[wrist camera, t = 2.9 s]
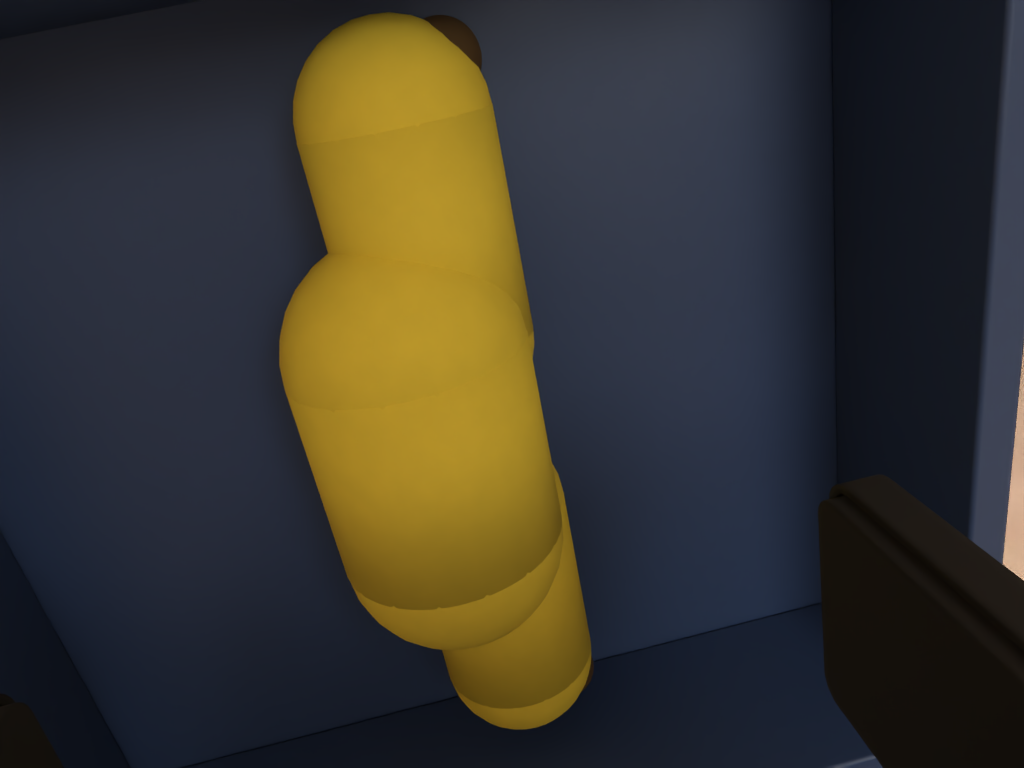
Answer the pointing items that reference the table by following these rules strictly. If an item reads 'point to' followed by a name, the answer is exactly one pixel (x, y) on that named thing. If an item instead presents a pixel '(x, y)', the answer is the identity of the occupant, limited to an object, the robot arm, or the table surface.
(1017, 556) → the table surface
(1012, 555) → the table surface
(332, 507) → the yellow lobed rod
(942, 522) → the robot arm
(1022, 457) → the table surface
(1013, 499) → the table surface
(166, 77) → the blue shallow open box
